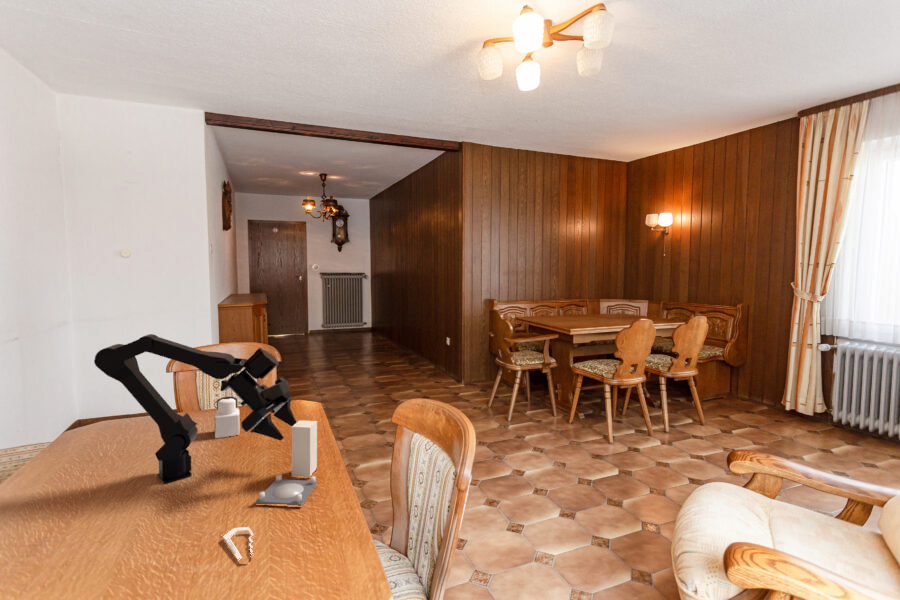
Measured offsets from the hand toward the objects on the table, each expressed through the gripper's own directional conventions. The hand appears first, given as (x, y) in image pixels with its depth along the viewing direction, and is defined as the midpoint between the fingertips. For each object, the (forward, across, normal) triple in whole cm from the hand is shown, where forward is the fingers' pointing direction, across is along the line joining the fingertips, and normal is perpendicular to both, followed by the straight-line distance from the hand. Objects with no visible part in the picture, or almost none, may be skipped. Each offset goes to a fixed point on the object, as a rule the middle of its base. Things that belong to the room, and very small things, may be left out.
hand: (289, 432), depth 120 cm
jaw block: (+11, 0, +5) cm, 12 cm away
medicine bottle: (-15, +25, +31) cm, 42 cm away
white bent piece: (+11, -31, +6) cm, 34 cm away
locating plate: (+11, -11, +5) cm, 16 cm away
